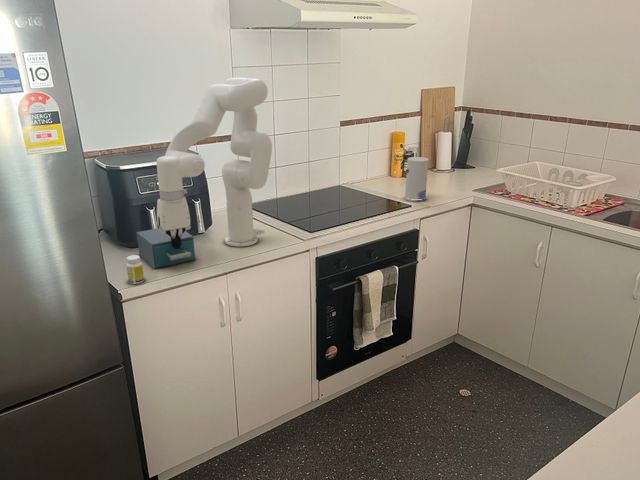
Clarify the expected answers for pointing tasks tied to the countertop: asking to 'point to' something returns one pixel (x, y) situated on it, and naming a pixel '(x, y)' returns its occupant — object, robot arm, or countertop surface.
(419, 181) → the container
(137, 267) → the supplement bottle
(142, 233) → the drawer cabinet
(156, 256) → the drawer
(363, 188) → the countertop surface
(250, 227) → the robot arm
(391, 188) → the countertop surface
